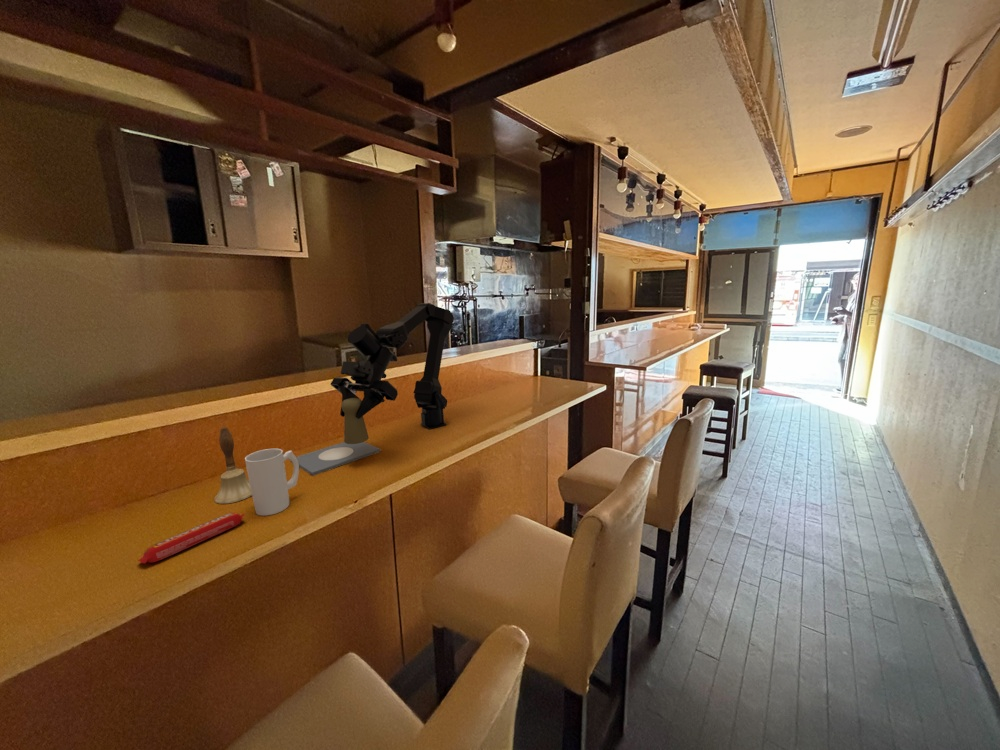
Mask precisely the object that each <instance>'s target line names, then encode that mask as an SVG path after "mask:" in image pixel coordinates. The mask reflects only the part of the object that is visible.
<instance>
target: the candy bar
mask: <svg viewBox="0 0 1000 750" xmlns="http://www.w3.org/2000/svg"><path fill="white" fill-rule="evenodd" d="M244 516H245V513H242V514H241V515H240V514H239V513H236V512H230V513H227V514H224V515H221V516H219V517H216V518H214V519H212V520H210V521H207V522H204V523H202V524H200V525H197V526H195V527H193V528H191V529H188V530H185V531H183V532H181V533H178V534H175V535H174V536H172V537H170V538H167V539H165V540H164V539H163V540H162V541H160V542H157V543H155V544H153V545H152V546H151V545H150V546H149V547H147V548H146V549H145V551H144V553H143V556H141V557H140V558H139V559H138V560H137V561H138V562H140V563H142V564H146V563H149V564H150V563H155V562H158V561H161V560H164V559H166V558H168V557H171V556H174V555H176V554H177V553H180V552H182V551H184V550H186V549H189V548H190V547H193V546H195V545H198V544H199V543H201V542H204V541H206V540H208V539H211V538H212V537H215V536H217V535H219V534H222V533H224V532H226V531H229V530H230V529H232V528H234V527H237V526H238V525H240V524H241V522H242V520H243V517H244Z"/></svg>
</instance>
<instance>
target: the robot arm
mask: <svg viewBox="0 0 1000 750" xmlns="http://www.w3.org/2000/svg"><path fill="white" fill-rule="evenodd" d="M454 318H455V317H454V314H453V313H452V312H451V310H449V309H446V308H442V307H440V306H437V305H435V304H433V303H431V302H424V303H418V304H416V307H414V308H413V309H412V310H410V311H409V312H407V314H405V315H404V316H403V317H401V318H400V319H399V320H398V321H395V322H393V323H389V324H386V325H384V326H382V327H379V328H378V329H377V330H376V331H374V330H373V329H372V327H371V326H370V325H369V324H368V323H361V324H360V326H358V327H356V328H354V329H353V330H352V331H351V332H349V334H348V336H347V341H348V343H349V344H350V345H351V346H352V347H353V348H354V349H355V350H357V352H359V354H361V355H362V356H363V357H367V358H366V360H365V359H361V360H360V362H355V361H342V364H341V368H340V375H346V376H350V379H351V380H352V381H355V382H352V381H351V380H350V379H349V378H348V377H343V376H342V377H341V376H336V377H333V379H332V381H331V382H330V386H331V387H332V388H334V389H335V390H337V391H338V392H339V393H340V394H341V403H342V402H343V401H344V400H346V399H349V398H359V399H360V397H359V396H357V392H363V398H362V399H361V400H362V402H361V404H360V407H359V409H358V411H357V414H356V418H357V419H360V418H361V417H362V416H363V417H364V416H365V415H366V414H367V413H368V412H370V411H371V410H372V409H374V408H375V407H377V406H378V405H380V404H381V403H385V402H386V400H387V401H392V402H393V401H396V399H397V397H398V394H399V393H398V389H397V388H396V387H395V386H394V385H393V384H392V383H390V382H389V381H388V380H382V379H386V377H387V376H388V375H387V373H385V372H386V370H387V368H388V366H389V364H390V362H394V363H396V362H398V357H397V356H396V352H395V351H392V350H390V349H400V348H402V347H403V346H404V345H405V344H406V342H407V341H408V339H409V335H410V333H412V332H413V331H414V330H416V328H417V327H419V326H420V325H422V323H423V322H426V327H427V330H428V332H429V339H428V345H427V346H428V347H427V349H426V350H427V352H426V357H425V363H424V364H425V365H424V370H423V375H422V376H421V377H422V378H420V380H416V381H415V383H414V390H413V392H412V393H413V394H414V396H413V399H414V400H415V403H416V406H417V408H418V409H421V413H420V417H421V422H420V425H421V426H423V427H425V428H426V429H428V430H431V429H434V428H439V427H443V426H446V425H447V422H445V418H444V410H445V409H446V408H447V405H448V399H447V398H446V397H445V396H444V395H443V393H442V390H443V389H442V386H441V383H440V380H439V379H440V378H439V377H440V371H441V364H442V358H443V353H444V345H445V339H446V337H447V335H449V333H450V331H452V327H453V323H454ZM385 399H386V400H385ZM339 415H340V417H342V418H345V413H344V412H343V410H342V408H341V407H340V414H339Z"/></svg>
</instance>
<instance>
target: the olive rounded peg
mask: <svg viewBox="0 0 1000 750" xmlns="http://www.w3.org/2000/svg"><path fill="white" fill-rule="evenodd" d="M362 400H363V399H361V398H360V397H359V398H349V399H346V400H344V401H343V402H342V401H341V404H340V409H341V408H342V410H343V412H344V413H345V416H344V417H343V418H344V421H343V423H344V425H343V426H344V427H343V429H344V433H343V442H345V443H346V444H358V443H362V442H365V443H366V441H368V440H369V434H368V429H367V427H366V423H365V418H364V415H363V416H362V417H361V418H360V419H357V418H356V414H357V411H358V409H359V407H360V404H361V402H362Z"/></svg>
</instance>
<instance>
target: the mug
mask: <svg viewBox="0 0 1000 750" xmlns="http://www.w3.org/2000/svg"><path fill="white" fill-rule="evenodd" d="M296 457H297V456H296V455H295V454H294V453H293V450H288V451H286V452H284V450H283V449H281V448H277V447H276V448H267V449H260V450H257V451H254V452H252V453H250V454H247V455H246V456H245V457H244V461H245V467H246V473H247V476H248V478H247V479H248V481H249V482H250V487H251V492H252V496H251V497H252V501H253V506H254V509H255V513H256V515H258V516H265V517H266V516H272V515H275V514H279V513H281V512H283V511H285V510H286V509H287V508H288V507H289V506H290V496H289V490H290V489H291V488H294V487H295V486H297V484H298V479H299V474H300V467H299V463H298V460H297V459H296ZM287 460H289V461H290V460H291V461H292V462H291V461H290V462H291V463H292V464H293V465H292V466H293V472H292V476H291V478H290V479H289V480H287V474H286V466H285V461H287Z"/></svg>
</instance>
